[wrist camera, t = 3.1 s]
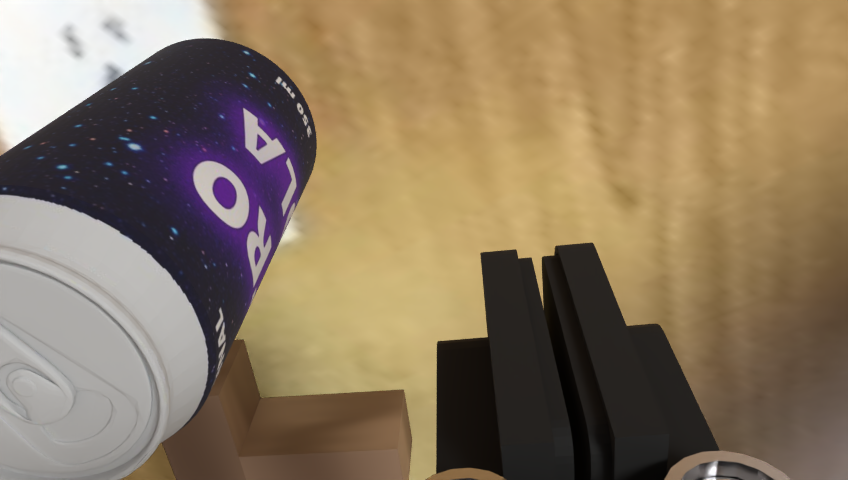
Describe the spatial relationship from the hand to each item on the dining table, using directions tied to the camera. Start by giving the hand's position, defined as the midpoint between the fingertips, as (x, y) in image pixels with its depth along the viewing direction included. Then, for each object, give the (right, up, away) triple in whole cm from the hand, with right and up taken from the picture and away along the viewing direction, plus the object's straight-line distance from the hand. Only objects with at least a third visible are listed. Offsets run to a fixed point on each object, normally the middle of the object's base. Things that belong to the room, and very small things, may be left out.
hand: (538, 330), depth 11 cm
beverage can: (-8, +5, +11) cm, 14 cm away
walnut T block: (-6, -6, +16) cm, 19 cm away
